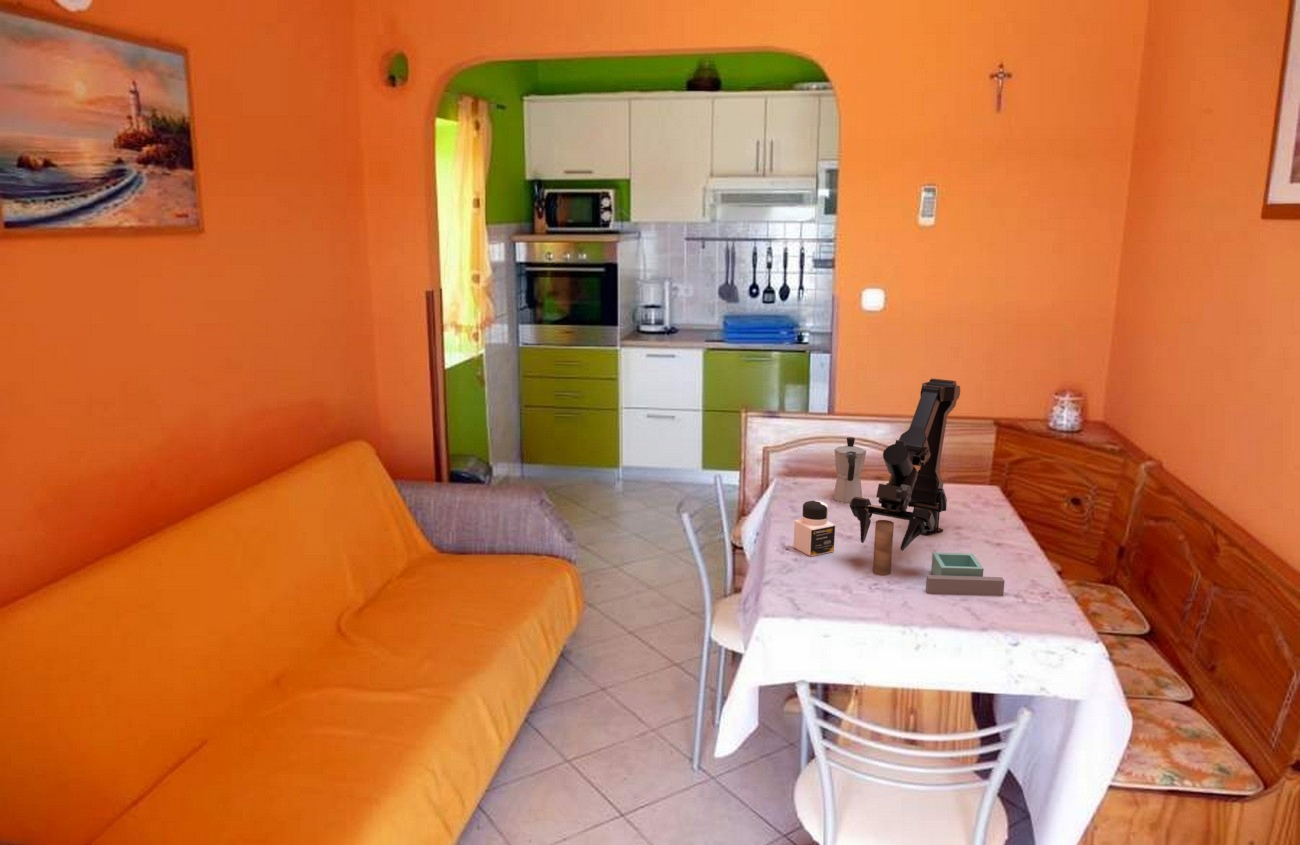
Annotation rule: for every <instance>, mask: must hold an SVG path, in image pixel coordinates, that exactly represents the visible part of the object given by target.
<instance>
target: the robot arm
mask: <svg viewBox="0 0 1300 845" xmlns="http://www.w3.org/2000/svg"><path fill="white" fill-rule="evenodd" d="M960 394H961V386H960V385H957V381H956V380H949V379H941V378H930V379H929V381H926V382H922V383H921V389H920V398H919V400H918V403H917V406H916V409H915V412H914V415H913V417H912V420H911V423H910V426H909V428H908V429H907V430H906V431H903V433H901V434H900V437H899V439H898V440H897V439H896V440H895V443H894V444H893V443H892V444H890V445H888V446H887V447H886V448H885V449H884V450H883V453H882V457H883V460H884V464H885V466H886V469H887V472H888V473H889V474H890V477H889V480H888V482H886V484H884V483H879V484H878V486H877V491H876V498H878V500H877V501H878V503H879V504H881V505H874V504H872V503H871V500H870V498H865V497H862V498H860V497H854V498H853V499H852V500H851V502H850V503H849V508H850V510H851V512H852V515H853V516H854V517H855V518H857V520H858V521H859V526H860V527H859V528H860V529H859V530H860V542H861V544H864V542H865V541H866V539H867V537H868V536H867V535H868V532H869V529H870V526H871V523H872V521H871V518H872V516H873V514H874V515H877V516H883V517H889V518H894V519H900V520H905V521H908V526H907V529H906V530H905V531H906V532H905V533H904V536H903V538H902V540H901V545H900V551H901V552H903V551H905V549H906V548H907V547H908V546H909V545H910V544H911V543H912V542H913V541H914V540H915V539H916V538H918V537H919V536H920V535H922V536H923V535H924V536H929V535H933V534H938V533H941V532H944V529H943V528H940V527H939V525H940V513H942V512H946V511H947V506H948V505H947V502H948V498H947V496H946V492H945V489H944V480H943V478H942V477H941V476H942V475H941V474H940V467H941V466H940V464H941V461H942V460H941V458H942V452H943V446H944V441H945V440H944V439H945V433H946V428H947V420H948V415H950V413H951V412H952V411H953V410H954V408H956V405H957V401H958V400H959V398H960ZM915 466H916V467H917V466H918V467H920V468H919V469H918V470H917V468H916V467H915ZM908 508H913V509H912V512H911V511H907V509H908Z"/></svg>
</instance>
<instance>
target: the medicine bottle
mask: <svg viewBox="0 0 1300 845" xmlns="http://www.w3.org/2000/svg"><path fill="white" fill-rule="evenodd" d="M828 516H829V505H828V504H827V503H826V502H823V501H820V500H808V501H806V502H804V503H803V504H802V517H801V518H799V519H796V520H794V526H793V527H794V528H793V548H794V549H796V550H797V551H800V552H801V553H803V554H806V555H807V556H809V557H816V556H820V555H821V556H822V555H825V554H829V553H834V552H835V539H836V538H835V534H836V524H835V523H833V522H831V521H829V520H828V518H829V517H828Z"/></svg>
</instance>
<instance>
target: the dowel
mask: <svg viewBox="0 0 1300 845" xmlns="http://www.w3.org/2000/svg"><path fill="white" fill-rule="evenodd" d="M874 526H875V527H874V529H875V530H874V544H873V562H872V573H873V574H874V575H877V576H883V577H884V576H886V577H887V576H889V575H891V574H892V573H891V571H892V558H893V544H894V542H893V541H894V529H895V528H894V527H895V524H894V522H893V521H891V520H887V519H879V520H876V521H875V525H874Z"/></svg>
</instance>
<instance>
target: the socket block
mask: <svg viewBox="0 0 1300 845" xmlns="http://www.w3.org/2000/svg"><path fill="white" fill-rule="evenodd" d="M931 555H932V557H931V570H930V572H931V573H932V575H944V576H977V577H984V567H983V566H982V565H981V563H980V562H979V560H978V559H977V558H976V556H975V555H974V553H960V552H959V553H957V552H956V553H955V552H932V554H931Z"/></svg>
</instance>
